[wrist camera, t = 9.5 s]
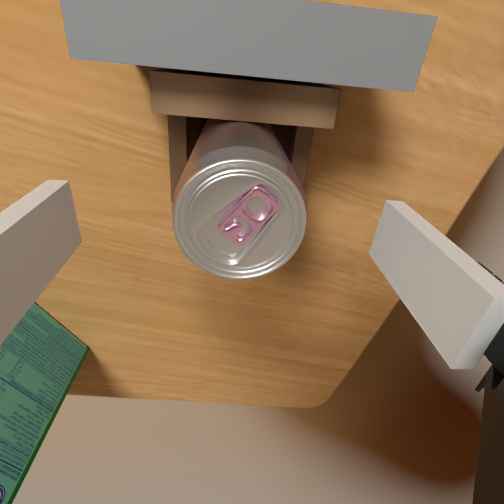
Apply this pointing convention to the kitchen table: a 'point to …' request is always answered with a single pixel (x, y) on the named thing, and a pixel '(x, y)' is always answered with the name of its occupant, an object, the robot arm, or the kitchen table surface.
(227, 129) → the beverage can
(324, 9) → the backstop
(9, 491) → the milk carton
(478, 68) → the kitchen table surface
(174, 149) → the bracket
